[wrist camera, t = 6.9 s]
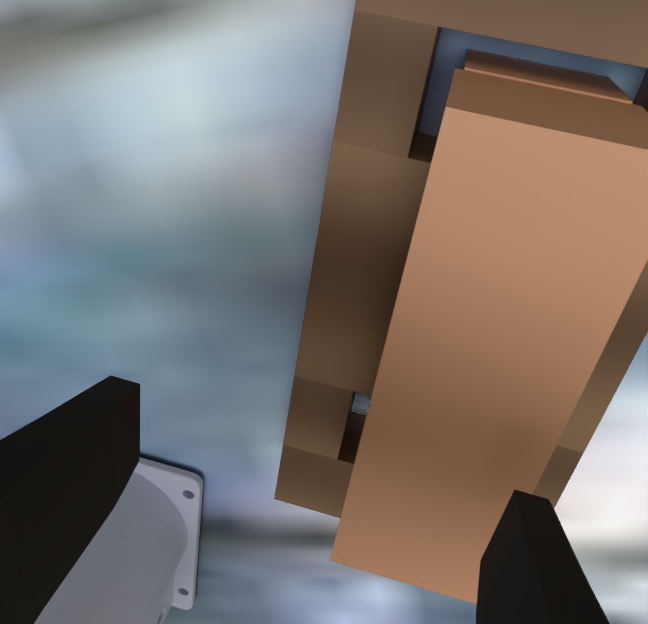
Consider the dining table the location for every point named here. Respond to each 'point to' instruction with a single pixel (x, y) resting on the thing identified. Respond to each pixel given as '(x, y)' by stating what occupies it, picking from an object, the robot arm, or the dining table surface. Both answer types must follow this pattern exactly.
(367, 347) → the brown flat slab
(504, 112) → the tan stepped block
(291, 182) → the dining table surface
